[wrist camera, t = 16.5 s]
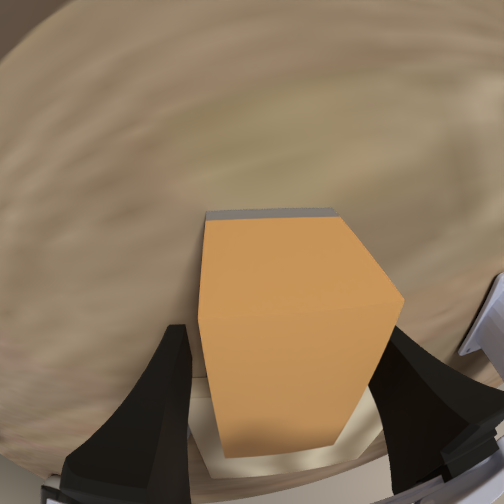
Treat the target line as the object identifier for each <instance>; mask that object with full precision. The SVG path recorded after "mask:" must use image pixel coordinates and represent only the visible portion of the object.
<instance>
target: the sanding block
mask: <svg viewBox="0 0 504 504" xmlns="http://www.w3.org/2000/svg"><path fill="white" fill-rule="evenodd" d="M404 301H405V300H404V299H403V297H402V296H401V294H400V293H399V292H398V290H397V289H396V288H395V286H394V285H393V283H392V282H391V281H390V279H389V278H388V277H387V275H386V274H385V273H384V271H383V270H382V269H381V267H380V266H379V265H378V263H377V262H376V261H375V260H374V258H373V257H372V256H371V254H370V253H369V252H368V251H367V249H366V248H365V247H364V246H363V244H362V243H361V242H360V240H359V239H358V238H357V237H356V236H355V234H354V233H353V232H352V231H351V229H350V228H349V227H348V226H347V225H346V223H345V222H344V221H343V220H342V219H341V217H340V216H339V215H338V214H337V213H336V211H335V210H334V209H333V208H278V209H245V210H220V211H207V212H206V222H205V232H204V243H203V255H202V267H201V280H200V294H199V309H198V323H199V329H200V335H201V341H202V347H203V353H204V359H205V365H206V370H207V376H208V381H209V386H210V392H211V397H212V402H213V407H214V412H215V416H216V421H217V426H218V430H219V435H220V439H221V444H222V448H223V453H224V457H225V458H243V457H257V456H267V455H276V454H284V453H292V452H298V451H305V450H311V449H316V448H322V447H327V446H332V445H334V443H335V442H336V440H337V439H338V437H339V435H340V434H341V432H342V430H343V429H344V427H345V425H346V424H347V422H348V420H349V419H350V417H351V415H352V413H353V411H354V410H355V408H356V406H357V404H358V402H359V401H360V399H361V397H362V395H363V393H364V391H365V389H366V387H367V385H368V383H369V381H370V379H371V377H372V375H373V373H374V371H375V369H376V367H377V365H378V363H379V361H380V359H381V356H382V354H383V352H384V350H385V348H386V345H387V343H388V341H389V338H390V336H391V334H392V331H393V329H394V327H395V324H396V322H397V319H398V317H399V314H400V311H401V309H402V306H403V304H404Z"/></svg>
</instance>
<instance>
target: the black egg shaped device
mask: <svg viewBox="0 0 504 504" xmlns="http://www.w3.org/2000/svg"><path fill="white" fill-rule="evenodd" d="M60 479H61V476H60V475H53V476H50V477H48V478H47V479H46V480H45V482H44V484H43V485H42V486H41V490H40V503H41V504H46V503H47V499H48V498H50V499H53V500H56V501H59V502H62V503H65V504H82V503H81V502H79V501H77V500H75V499H73V498H71V497H69V496H67V495H66V494H64V493H62V492H61V490H60V489H59V485H60Z"/></svg>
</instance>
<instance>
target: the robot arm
mask: <svg viewBox="0 0 504 504" xmlns="http://www.w3.org/2000/svg"><path fill="white" fill-rule="evenodd" d="M481 348H482V350H483V351H484V353H485V354H486V356H487V357H488V359H489V360H490V361H491V363H492V364H493V366H494V367H495V369H496V370H497V372H498V373H499V375H500V377H501V378H502V380H503V381H504V273H501V274H499V275H498V276H497V278H496V279H495V282H494V284H493V286H492V288H491V291H490V293H489V295H488V297H487V299H486V301H485V303H484V305H483V307H482V309H481V311H480V313H479V315H478V317H477V319H476V321H475V322H474V324H473V326H472V328H471V330H470V332H469V333H468V335H467V337H466V339H465V340H464V342H463V344H462V345H461V347H460V349H459V350H458V354H459V355H460V356H462V355H465V354H468V353H471V352H473V351H476V350H478V349H481ZM368 387H369V390H370V392H371V394H372V397H373V399H374V402H375V404H376V407H377V409H378V412H379V415H380V419H381V423H382V427H383V431H384V435H385V440H386V444H387V450H388V456H389V461H390V470H391V481H392V491H393V494H394V496H392V497H389V498H386V499H383V500H380V501H377V502H374V503H371V504H412V503H414V502H415V503H414V504H491V503H492V502H494V501H495V500H496V499H497V498H498V497H499V496H500V495H502V494H503V493H504V435H503V436H502V437H500V438H499V439H498V440H497V441H496V440H495V438H494V436H496V435H497V432H496V430H495V427H497V426H498V424H500V423H501V422H502V421H503V420H504V391H502V390H499V389H496V388H493V387H489V386H487V385H484V384H482V383H480V382H477V381H475V380H473V379H471V378H469V377H467V376H465V375H463V374H461V373H459V372H457V371H455V370H454V369H452V368H450V367H449V366H447V365H446V364H444V363H443V362H441V361H439V360H438V359H437V358H435V357H434V356H432V355H431V354H430V353H428V352H427V351H426V350H424V349H423V348H422V347H420V346H419V345H418V344H417V343H416V342H414V341H413V340H412V339H411V338H410V337H408V336H407V335H406V334H405V333H404V332H403V331H401V330H400V329H399V328H398V327H397V326H396V325H395V327H394V329H393V331H392V334H391V336H390V338H389V341H388V343H387V345H386V348H385V350H384V352H383V354H382V356H381V359H380V361H379V363H378V365H377V367H376V369H375V371H374V373H373V375H372V377H371V379H370V381H369V383H368ZM191 388H192V355H191V351H190V346H189V341H188V336H187V331H186V326H185V324H182V325H169V326H168V327H167V329H166V331H165V334H164V336H163V338H162V340H161V342H160V344H159V346H158V348H157V350H156V352H155V353H154V355H153V357H152V359H151V361H150V362H149V364H148V366H147V368H146V369H145V371H144V372H143V374H142V376H141V377H140V379H139V380H138V382H137V383H136V385H135V386H134V388H133V389H132V391H131V392H130V393H129V395H128V396H127V397H126V399H125V400H124V401H123V403H122V404H121V405H120V406H119V408H118V409H117V410H116V411H115V412H114V413H113V415H112V416H111V417H110V418H109V419H108V420H107V421H106V422H105V423H104V424H103V425H102V426H101V427H100V428H99V429H98V430H97V431H96V432H95V433H94V434H93V435H92V436H91V437H90V438H89V439H88V440H87V441H86V442H84V443H83V444H82V445H81V446H79V447H78V448H77V449H76V450H74V451H73V452H72V453H71V454H69V455H68V456H67V457H66V459H65V462H64V465H63V468H62V473H61V479H60V485H59V489H60V490H61V492H62V493H64V494H66V495H67V496H69V497H71V498H73V499H75V500H77V501H79V502H81V503H82V504H191V498H190V487H189V474H188V455H187V427H188V417H189V407H190V397H191ZM46 504H65V503H62V502H59V501H56V500H53V499H50V498H48V499H47V503H46Z"/></svg>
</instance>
